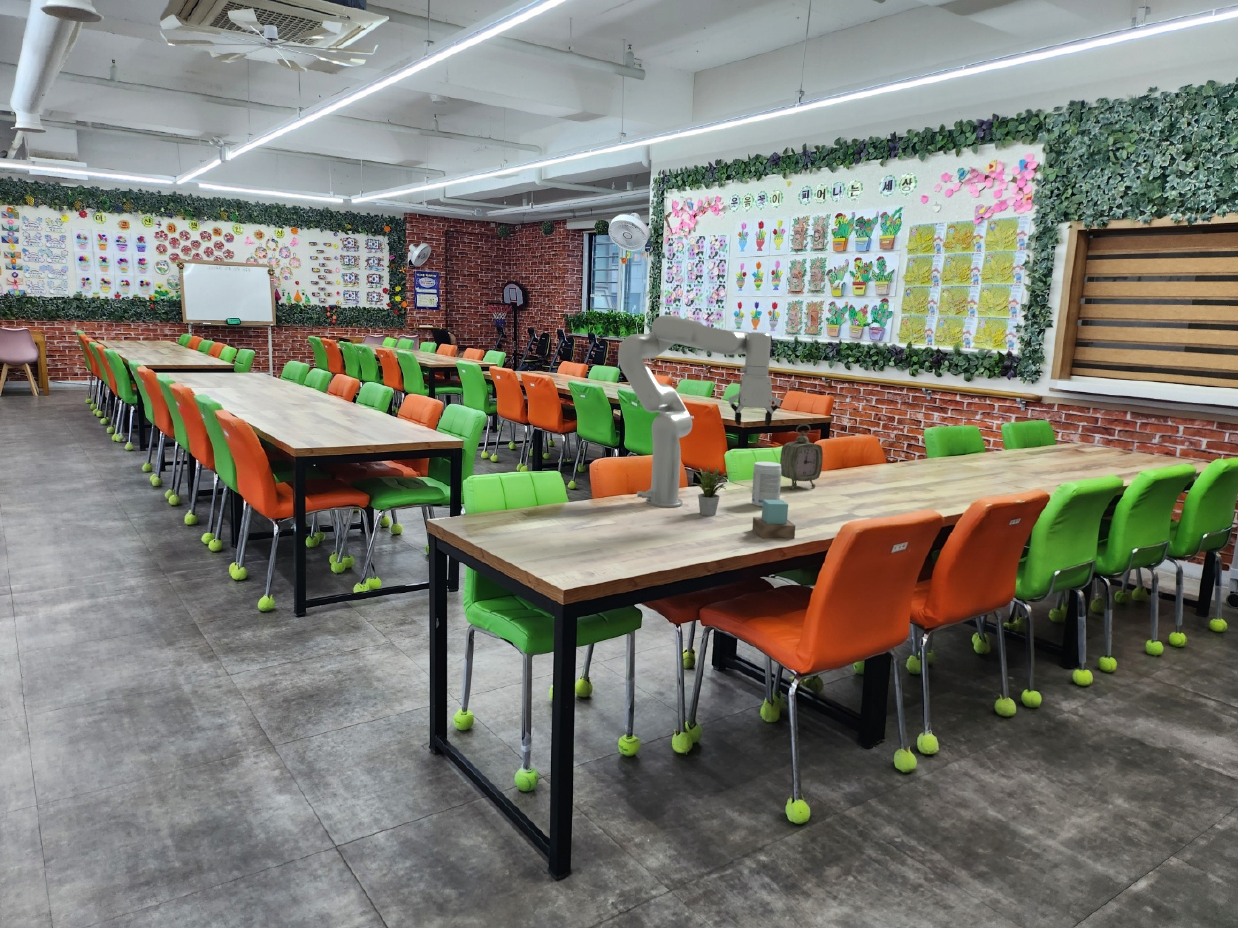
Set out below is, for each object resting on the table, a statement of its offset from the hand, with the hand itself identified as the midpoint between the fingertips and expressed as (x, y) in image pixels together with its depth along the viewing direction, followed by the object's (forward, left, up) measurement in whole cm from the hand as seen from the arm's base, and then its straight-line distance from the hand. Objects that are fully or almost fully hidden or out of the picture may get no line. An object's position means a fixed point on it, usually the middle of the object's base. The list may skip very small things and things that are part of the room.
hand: (752, 425), depth 272 cm
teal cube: (+2, -22, -26) cm, 34 cm away
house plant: (-12, +2, -31) cm, 33 cm away
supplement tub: (+12, +18, -31) cm, 37 cm away
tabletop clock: (+35, +49, -31) cm, 68 cm away
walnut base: (+2, -22, -30) cm, 37 cm away
